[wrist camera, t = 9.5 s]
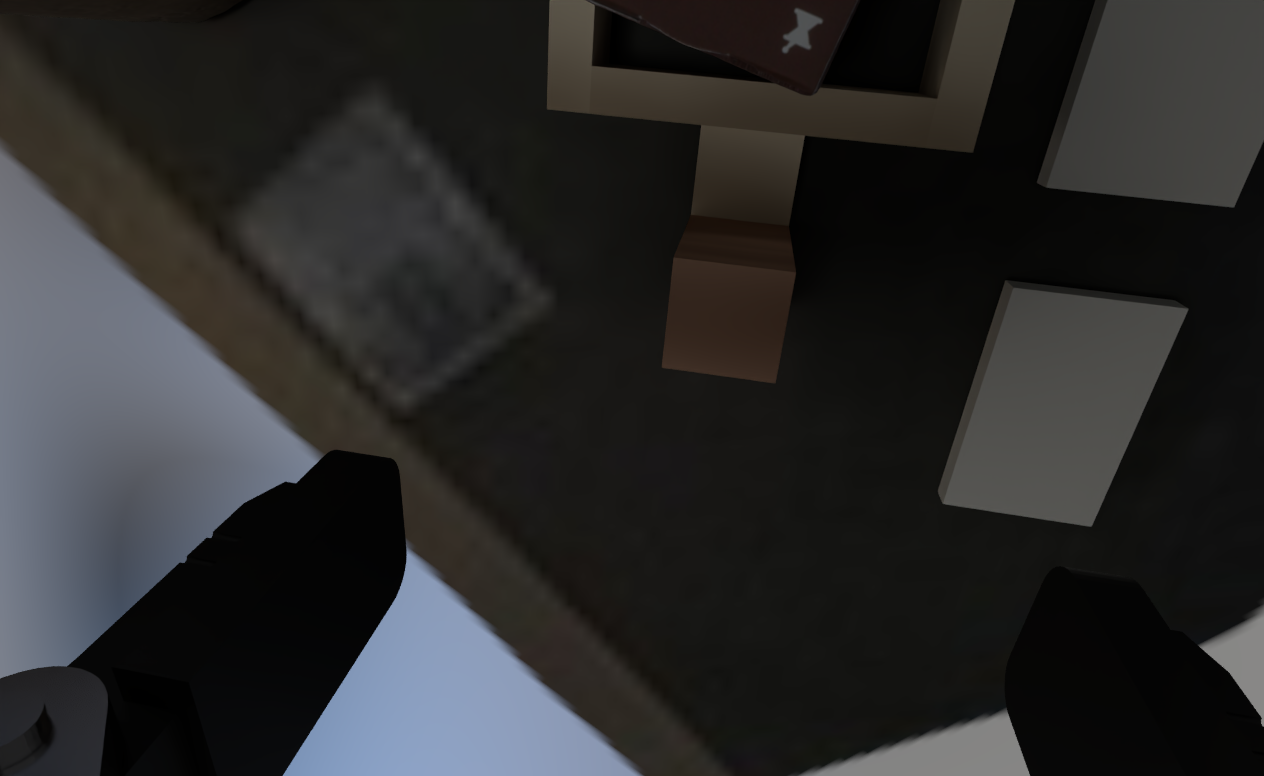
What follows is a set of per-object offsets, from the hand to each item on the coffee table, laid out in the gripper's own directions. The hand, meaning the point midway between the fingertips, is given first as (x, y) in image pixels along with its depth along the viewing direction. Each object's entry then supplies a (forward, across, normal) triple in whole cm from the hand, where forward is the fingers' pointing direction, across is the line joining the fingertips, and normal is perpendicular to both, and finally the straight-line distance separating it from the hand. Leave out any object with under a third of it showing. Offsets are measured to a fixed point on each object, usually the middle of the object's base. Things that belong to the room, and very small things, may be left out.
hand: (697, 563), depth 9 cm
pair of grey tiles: (+16, -11, 0) cm, 20 cm away
